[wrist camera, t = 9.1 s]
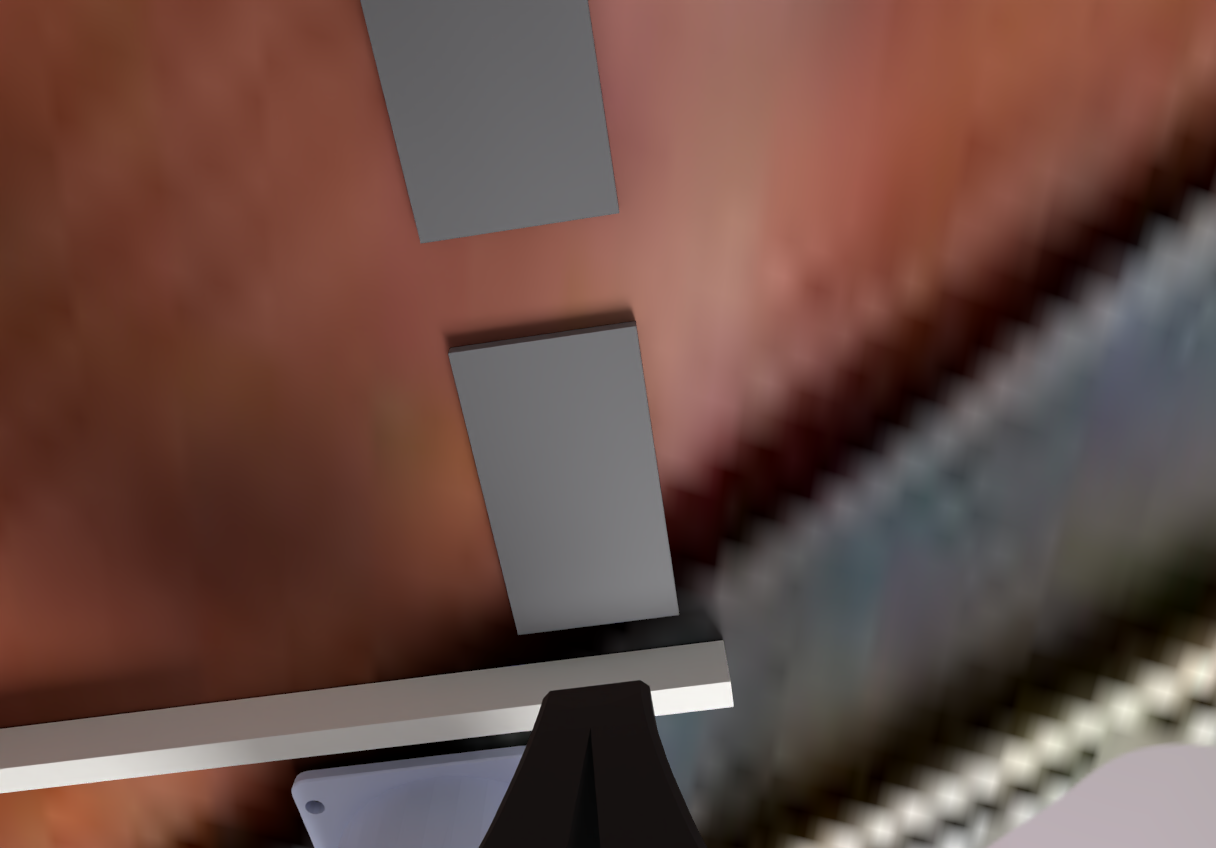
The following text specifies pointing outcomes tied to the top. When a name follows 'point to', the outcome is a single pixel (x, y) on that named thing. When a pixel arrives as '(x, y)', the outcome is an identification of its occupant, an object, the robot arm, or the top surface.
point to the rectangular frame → (476, 425)
